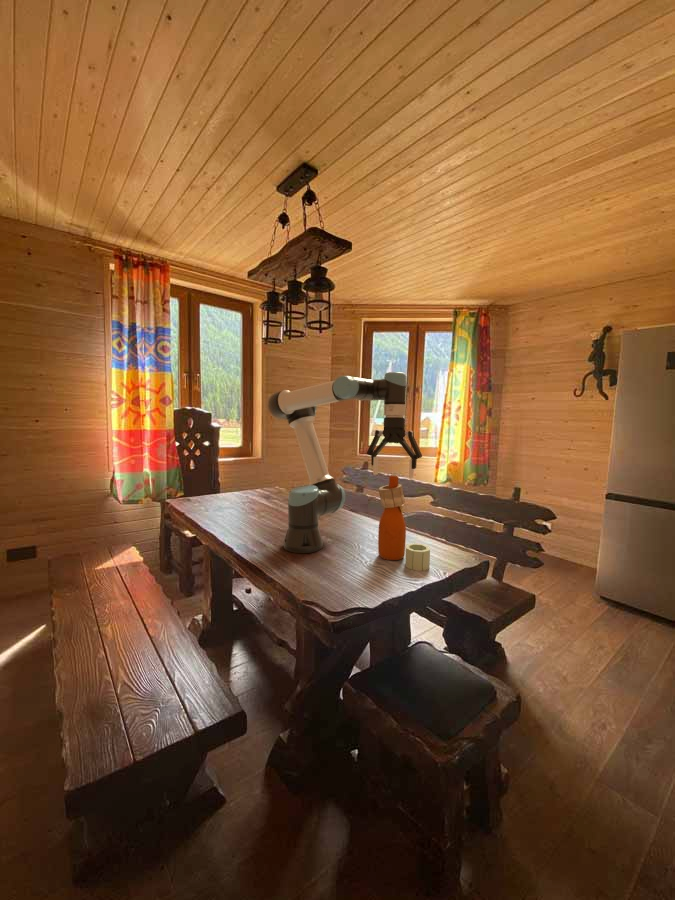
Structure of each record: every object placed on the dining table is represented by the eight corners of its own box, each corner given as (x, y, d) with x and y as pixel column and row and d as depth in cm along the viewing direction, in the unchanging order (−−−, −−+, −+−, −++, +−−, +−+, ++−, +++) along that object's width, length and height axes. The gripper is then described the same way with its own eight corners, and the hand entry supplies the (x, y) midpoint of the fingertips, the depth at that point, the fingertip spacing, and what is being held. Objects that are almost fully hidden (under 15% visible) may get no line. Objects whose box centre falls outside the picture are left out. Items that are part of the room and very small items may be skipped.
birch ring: (379, 508, 133) (376, 490, 132) (385, 501, 140) (382, 485, 139) (401, 506, 129) (398, 488, 129) (406, 500, 136) (403, 483, 136)
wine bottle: (390, 563, 129) (392, 478, 127) (372, 554, 138) (374, 474, 135) (410, 558, 135) (413, 476, 132) (392, 550, 143) (394, 472, 141)
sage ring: (405, 569, 125) (405, 550, 124) (405, 560, 133) (406, 542, 132) (429, 571, 123) (430, 552, 123) (428, 562, 131) (429, 544, 131)
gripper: (358, 416, 135) (357, 474, 137) (425, 417, 122) (423, 481, 124) (367, 416, 141) (366, 471, 143) (432, 417, 129) (430, 478, 130)
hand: (392, 476), depth 134 cm, fingers open, 13 cm apart
